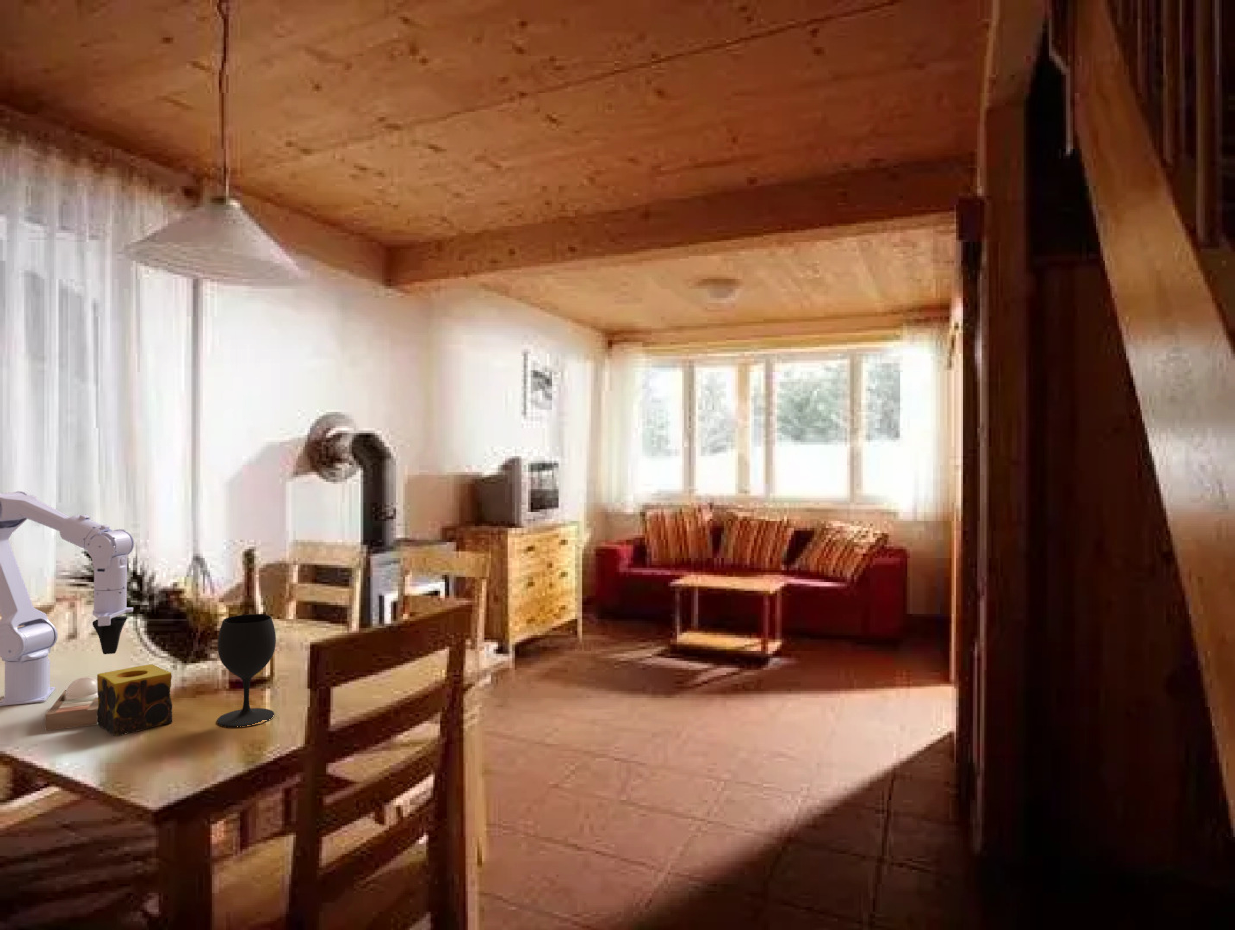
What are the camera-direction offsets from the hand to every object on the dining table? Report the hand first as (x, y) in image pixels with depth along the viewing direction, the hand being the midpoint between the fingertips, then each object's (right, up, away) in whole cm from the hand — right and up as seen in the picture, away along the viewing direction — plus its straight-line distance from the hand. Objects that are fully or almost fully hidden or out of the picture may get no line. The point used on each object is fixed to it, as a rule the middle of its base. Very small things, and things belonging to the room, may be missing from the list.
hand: (109, 653), depth 158 cm
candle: (+13, -11, -11) cm, 20 cm away
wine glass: (+32, -11, -8) cm, 35 cm away
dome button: (-3, -10, -4) cm, 11 cm away
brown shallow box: (-1, -11, -7) cm, 13 cm away
